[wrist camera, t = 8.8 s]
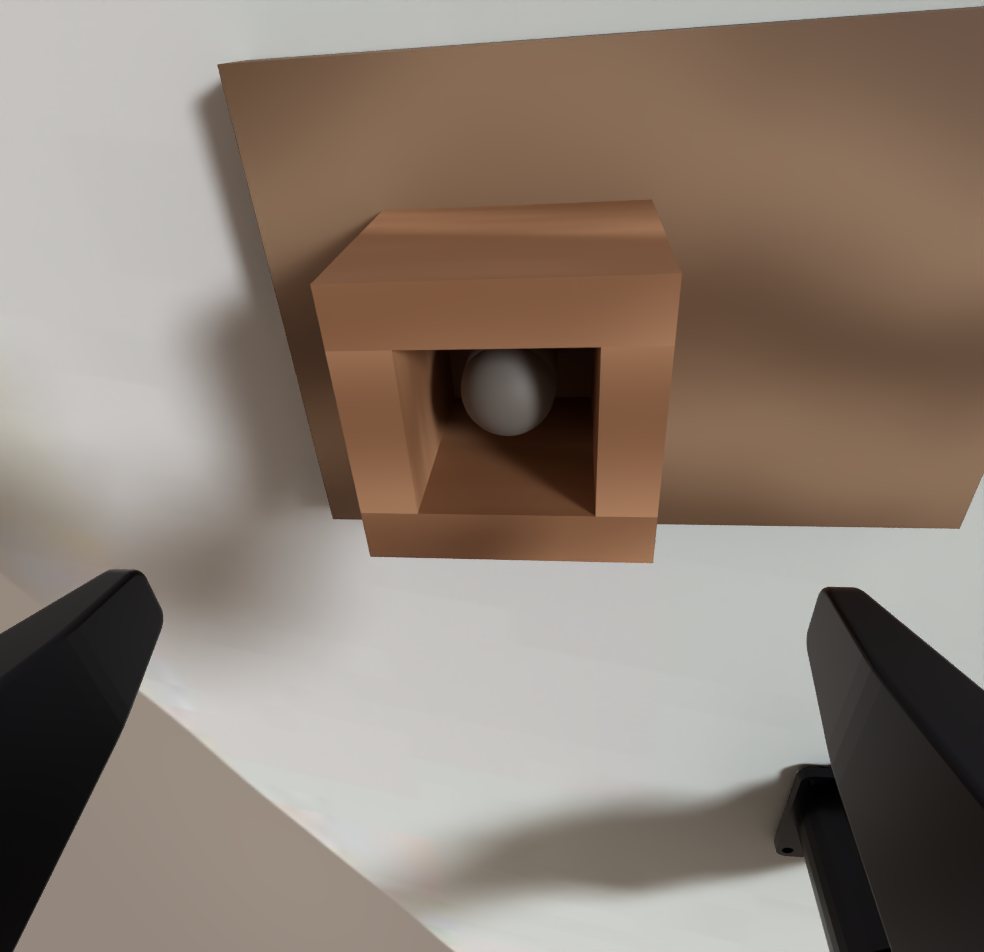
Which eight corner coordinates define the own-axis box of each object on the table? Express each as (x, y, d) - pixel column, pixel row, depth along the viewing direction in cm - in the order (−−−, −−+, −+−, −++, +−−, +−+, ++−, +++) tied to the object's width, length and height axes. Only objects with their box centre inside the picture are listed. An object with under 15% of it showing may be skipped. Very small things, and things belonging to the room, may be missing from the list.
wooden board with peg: (935, 496, 20) (1042, 640, 15) (346, 490, 22) (287, 614, 17) (1132, -5, 13) (1433, -14, 8) (246, 60, 15) (105, 81, 10)
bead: (635, 436, 18) (652, 563, 14) (415, 436, 18) (370, 556, 14) (651, 199, 14) (681, 273, 10) (381, 210, 15) (309, 284, 11)
